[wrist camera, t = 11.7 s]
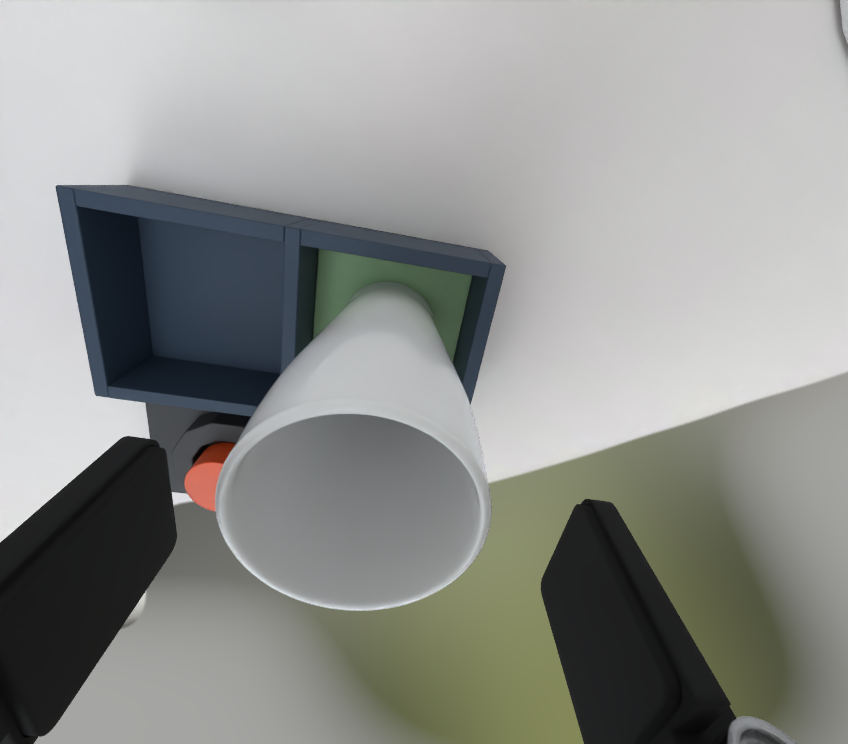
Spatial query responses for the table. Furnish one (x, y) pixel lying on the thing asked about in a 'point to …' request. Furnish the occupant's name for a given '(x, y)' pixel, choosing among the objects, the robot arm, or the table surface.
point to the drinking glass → (360, 464)
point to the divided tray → (242, 292)
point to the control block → (190, 435)
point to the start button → (207, 474)
